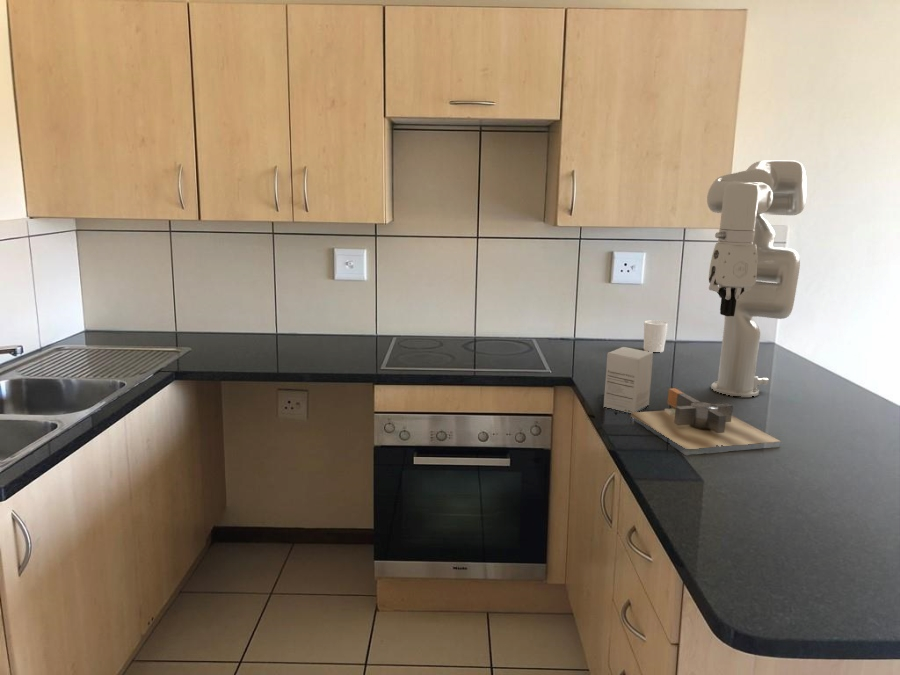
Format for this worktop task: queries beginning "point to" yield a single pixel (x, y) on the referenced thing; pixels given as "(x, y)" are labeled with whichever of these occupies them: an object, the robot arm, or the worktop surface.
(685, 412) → the capstan
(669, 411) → the level window
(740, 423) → the stand plate
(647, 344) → the white cup
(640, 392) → the supplement box
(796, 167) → the robot arm
